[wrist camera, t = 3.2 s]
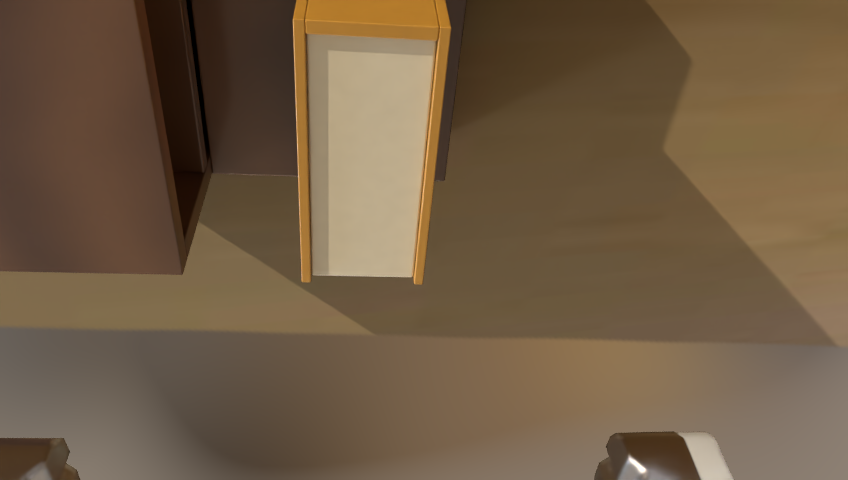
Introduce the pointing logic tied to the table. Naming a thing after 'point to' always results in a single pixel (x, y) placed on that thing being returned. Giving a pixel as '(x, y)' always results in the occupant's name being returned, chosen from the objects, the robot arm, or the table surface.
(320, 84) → the book
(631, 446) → the robot arm
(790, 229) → the table surface
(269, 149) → the wooden l-shaped block
